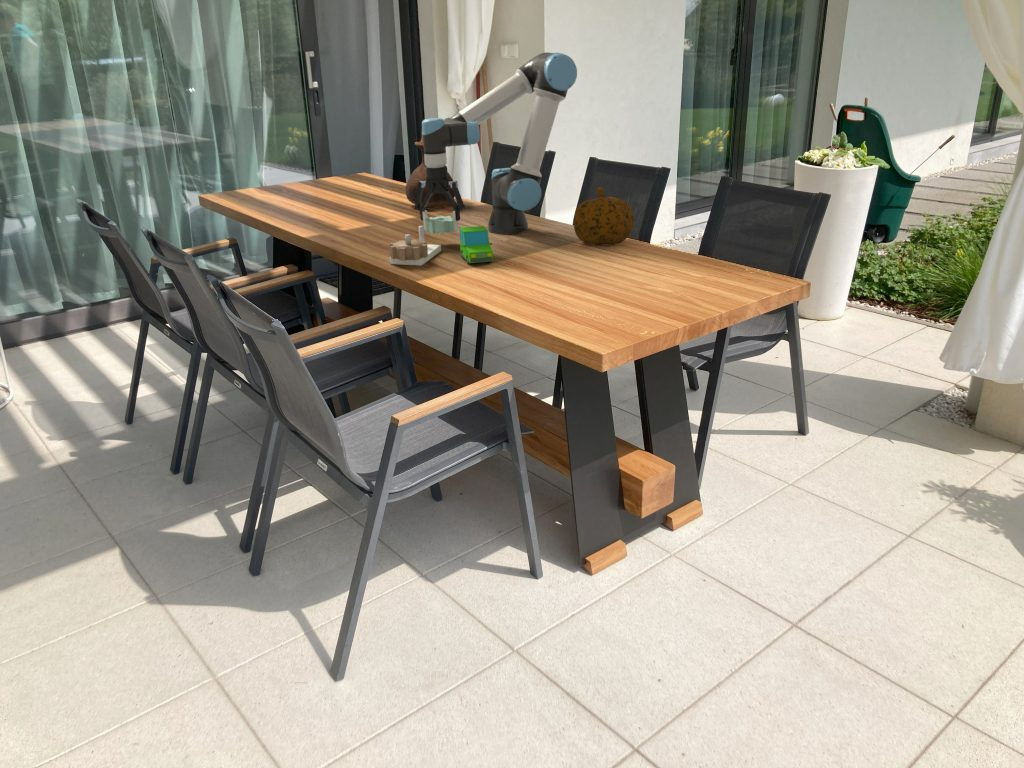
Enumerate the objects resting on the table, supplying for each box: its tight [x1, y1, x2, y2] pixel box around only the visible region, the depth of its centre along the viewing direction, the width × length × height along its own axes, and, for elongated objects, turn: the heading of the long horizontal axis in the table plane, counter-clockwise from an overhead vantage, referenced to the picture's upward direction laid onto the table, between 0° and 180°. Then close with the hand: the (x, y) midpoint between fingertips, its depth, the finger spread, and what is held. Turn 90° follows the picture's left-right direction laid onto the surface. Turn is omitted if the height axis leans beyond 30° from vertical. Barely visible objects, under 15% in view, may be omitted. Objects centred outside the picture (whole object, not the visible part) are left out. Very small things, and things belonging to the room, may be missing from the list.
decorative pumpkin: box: [573, 186, 635, 247], centre depth 293 cm, size 20×21×20 cm
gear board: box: [389, 225, 442, 267], centre depth 278 cm, size 12×23×9 cm, turn 166°
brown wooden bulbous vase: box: [405, 131, 455, 210], centre depth 355 cm, size 22×22×30 cm
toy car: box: [459, 225, 494, 265], centre depth 274 cm, size 10×13×10 cm
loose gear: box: [425, 215, 455, 235], centre depth 293 cm, size 10×10×4 cm
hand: (441, 229), depth 294 cm, fingers closed on loose gear, 10 cm apart
